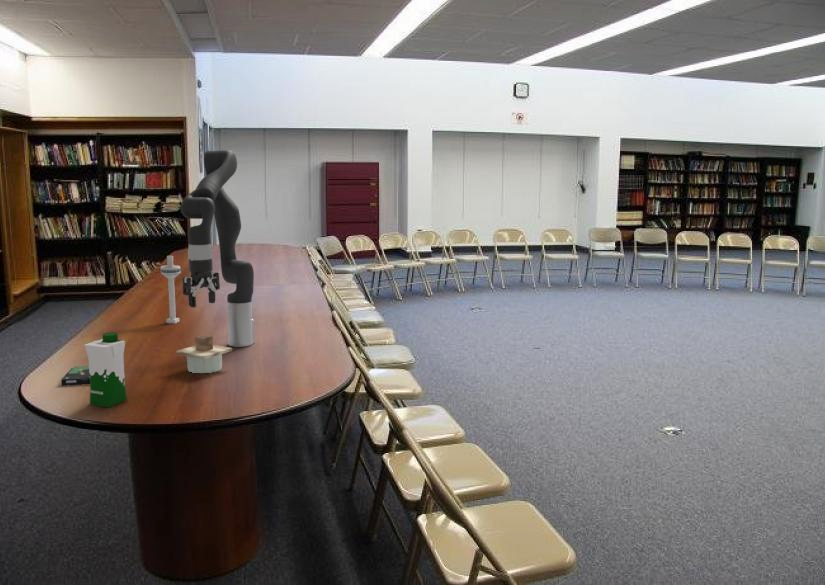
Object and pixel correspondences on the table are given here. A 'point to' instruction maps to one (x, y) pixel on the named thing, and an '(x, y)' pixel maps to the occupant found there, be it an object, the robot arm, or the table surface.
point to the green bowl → (204, 364)
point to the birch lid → (203, 348)
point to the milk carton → (106, 371)
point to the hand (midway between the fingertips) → (202, 305)
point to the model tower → (171, 286)
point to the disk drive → (77, 376)
